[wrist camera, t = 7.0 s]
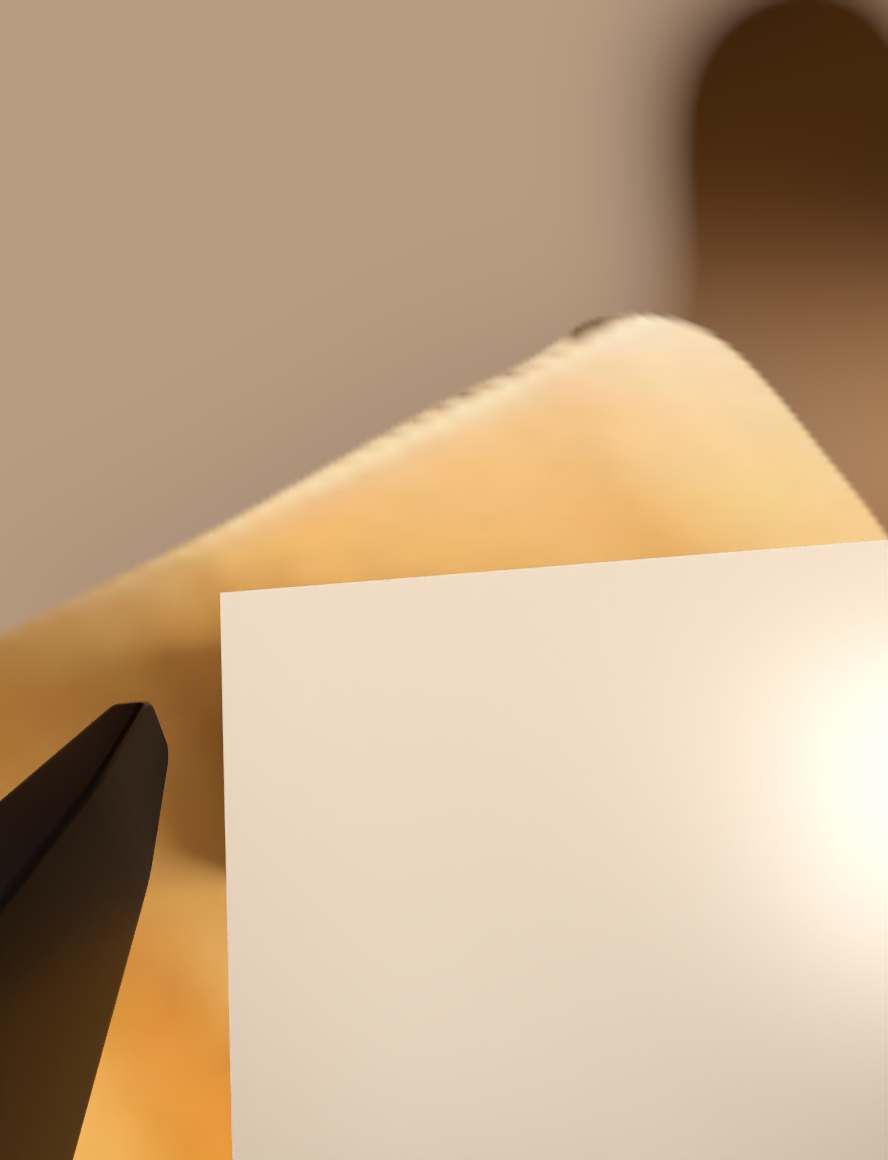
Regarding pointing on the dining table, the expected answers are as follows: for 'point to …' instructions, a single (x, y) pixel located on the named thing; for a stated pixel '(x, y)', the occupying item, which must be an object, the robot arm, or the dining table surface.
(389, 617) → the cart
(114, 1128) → the dining table surface
